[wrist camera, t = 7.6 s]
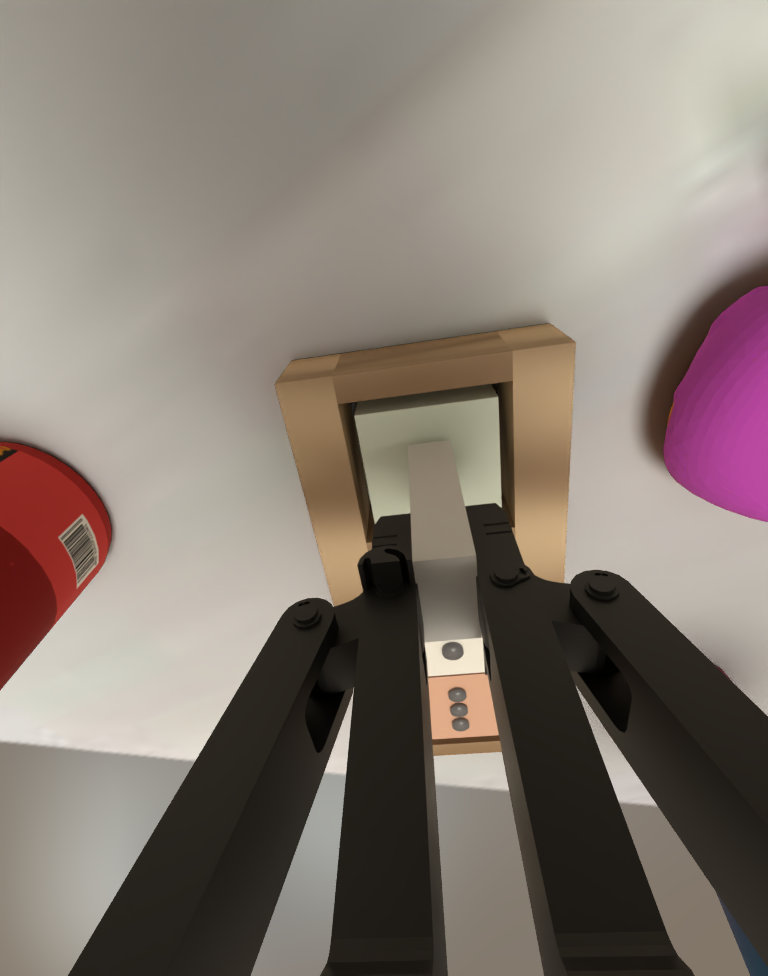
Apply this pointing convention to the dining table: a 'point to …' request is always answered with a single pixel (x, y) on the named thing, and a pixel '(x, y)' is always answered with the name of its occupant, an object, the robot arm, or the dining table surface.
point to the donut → (725, 413)
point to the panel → (426, 368)
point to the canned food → (43, 547)
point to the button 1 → (424, 420)
